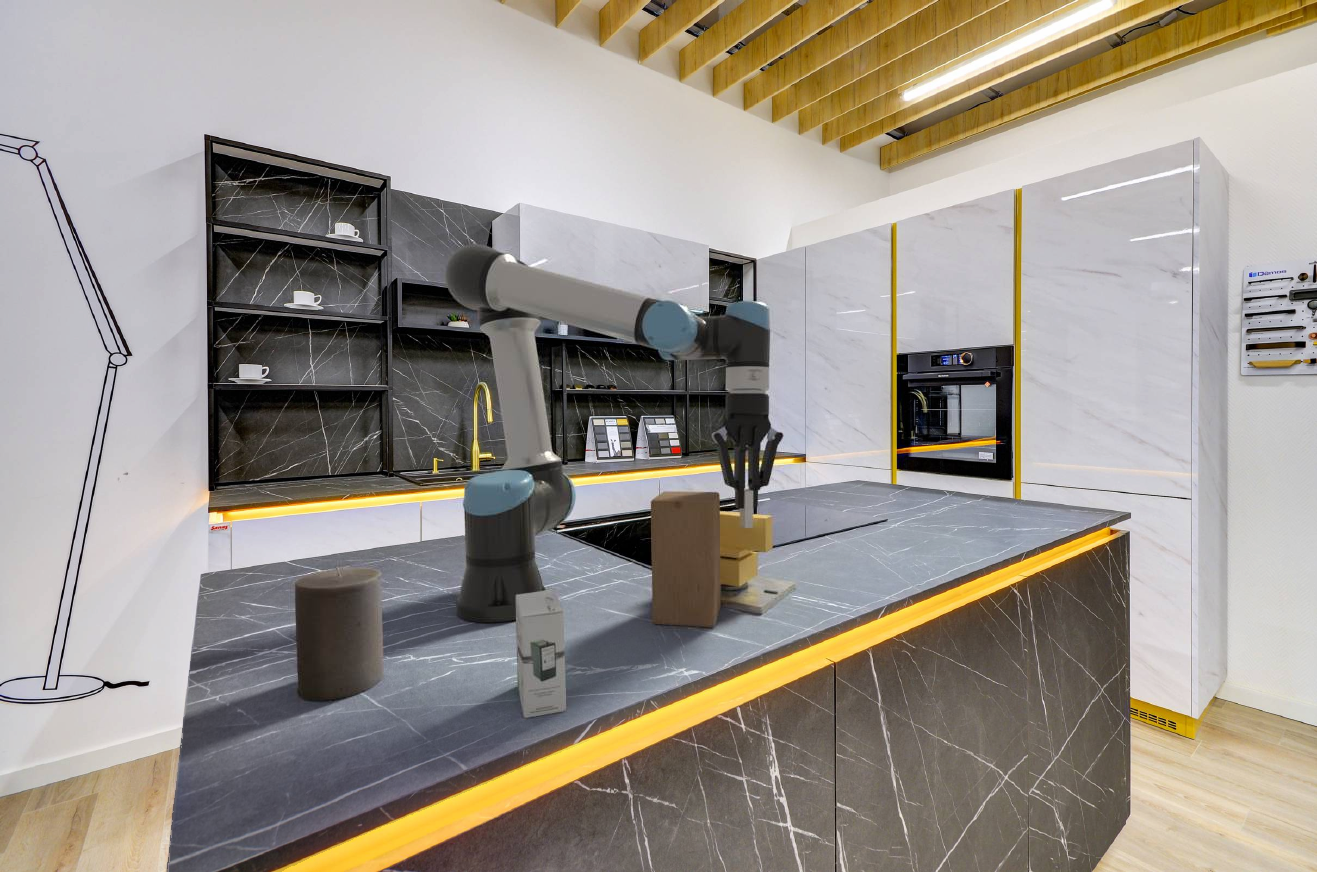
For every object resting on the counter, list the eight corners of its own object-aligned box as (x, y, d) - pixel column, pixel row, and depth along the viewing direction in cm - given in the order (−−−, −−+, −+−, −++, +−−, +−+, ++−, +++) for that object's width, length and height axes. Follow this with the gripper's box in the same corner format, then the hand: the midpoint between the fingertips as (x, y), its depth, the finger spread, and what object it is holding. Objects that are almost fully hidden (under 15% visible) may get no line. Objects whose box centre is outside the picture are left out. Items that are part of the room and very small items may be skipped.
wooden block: (714, 628, 89) (713, 500, 88) (652, 624, 91) (649, 499, 90) (721, 607, 99) (719, 491, 98) (664, 603, 101) (662, 490, 100)
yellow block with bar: (756, 592, 98) (756, 522, 98) (677, 578, 107) (676, 514, 107) (780, 576, 107) (780, 512, 107) (705, 565, 116) (704, 505, 116)
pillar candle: (290, 708, 67) (286, 581, 66) (304, 673, 76) (301, 561, 75) (383, 692, 71) (380, 572, 70) (385, 660, 80) (383, 553, 79)
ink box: (516, 685, 72) (513, 592, 71) (556, 678, 74) (553, 587, 73) (523, 719, 64) (520, 615, 63) (567, 711, 65) (565, 609, 65)
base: (660, 594, 106) (660, 541, 106) (703, 573, 120) (702, 525, 119) (761, 614, 95) (761, 554, 95) (796, 588, 109) (795, 535, 108)
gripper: (718, 391, 96) (717, 532, 97) (791, 392, 98) (789, 529, 99) (705, 392, 103) (704, 523, 104) (773, 393, 105) (772, 520, 107)
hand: (746, 526), depth 102 cm, fingers closed
